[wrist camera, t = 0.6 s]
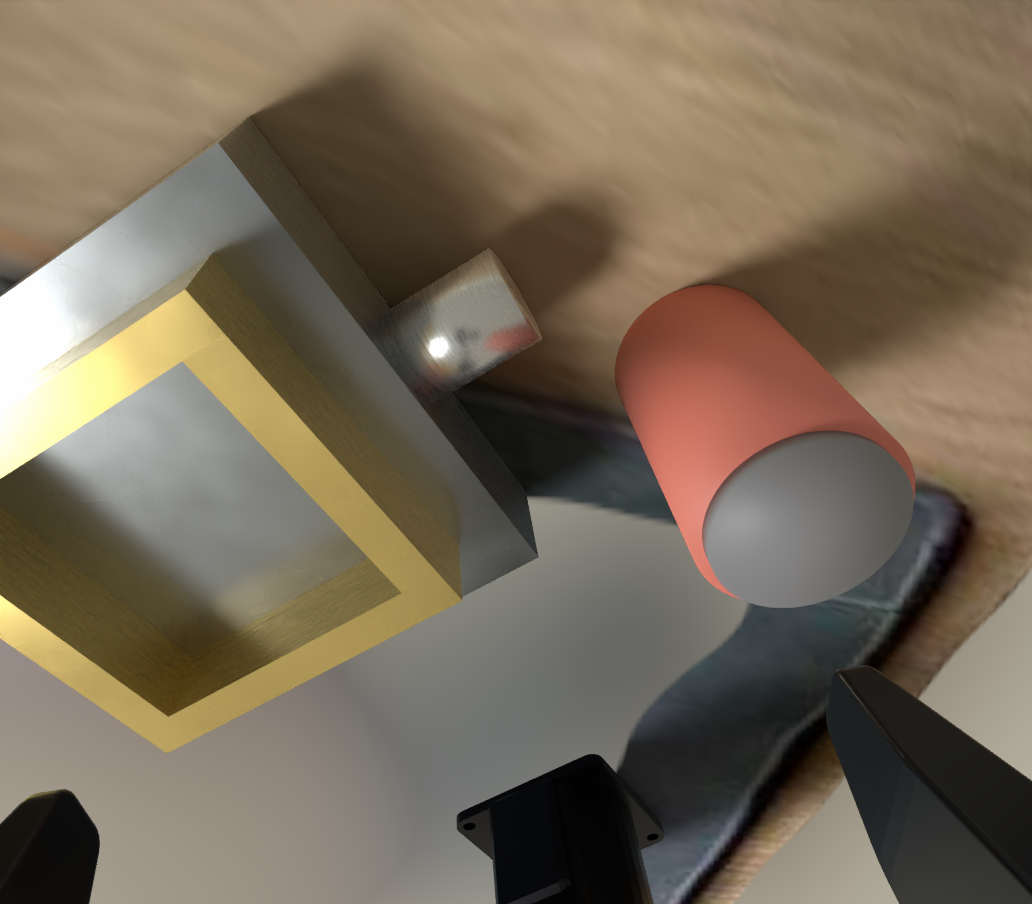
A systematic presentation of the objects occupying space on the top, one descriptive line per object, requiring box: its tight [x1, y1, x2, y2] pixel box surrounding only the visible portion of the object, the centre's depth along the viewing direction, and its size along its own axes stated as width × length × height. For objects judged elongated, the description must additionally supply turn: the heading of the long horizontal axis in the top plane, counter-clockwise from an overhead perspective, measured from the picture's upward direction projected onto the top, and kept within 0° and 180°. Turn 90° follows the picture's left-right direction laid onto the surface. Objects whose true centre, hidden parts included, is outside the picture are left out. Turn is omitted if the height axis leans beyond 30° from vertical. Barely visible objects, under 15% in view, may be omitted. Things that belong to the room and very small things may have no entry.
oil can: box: [615, 285, 915, 608], centre depth 18 cm, size 4×4×7 cm
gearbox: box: [0, 117, 542, 753], centre depth 18 cm, size 12×15×5 cm
